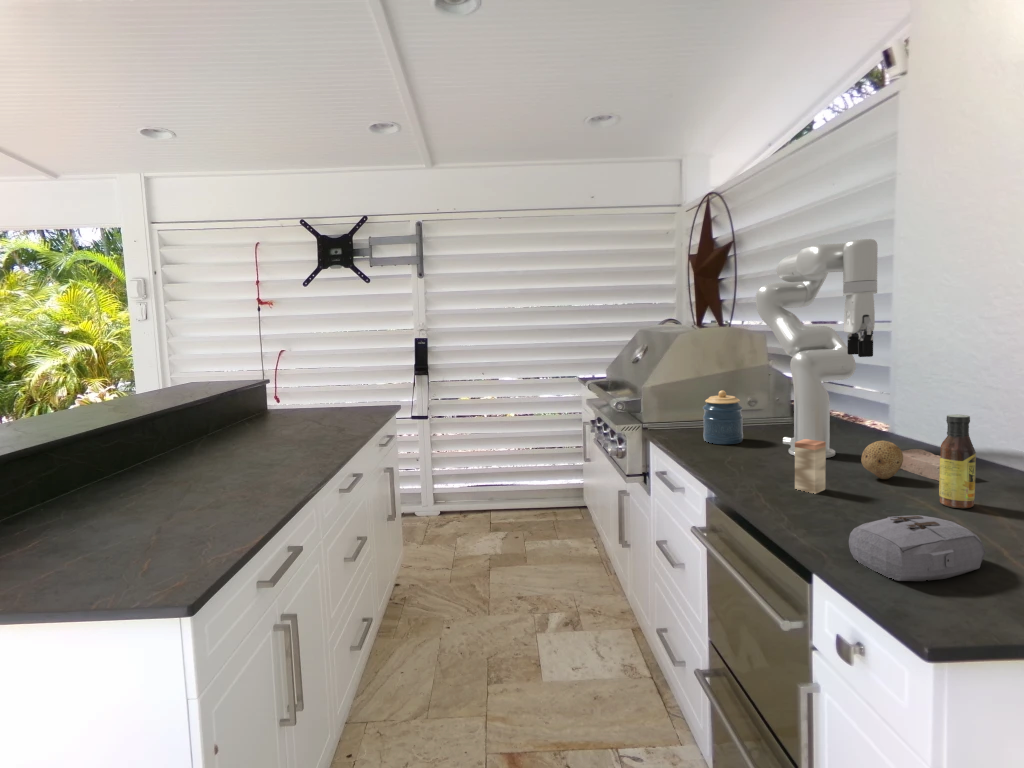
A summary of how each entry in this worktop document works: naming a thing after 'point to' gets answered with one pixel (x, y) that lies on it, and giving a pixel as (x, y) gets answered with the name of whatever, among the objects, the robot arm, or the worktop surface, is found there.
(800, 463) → the maple block
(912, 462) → the brick
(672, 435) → the worktop surface
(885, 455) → the natural sponge
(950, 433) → the sauce bottle
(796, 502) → the worktop surface
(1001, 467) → the worktop surface
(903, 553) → the soft grey pack
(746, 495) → the worktop surface
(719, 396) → the canister
